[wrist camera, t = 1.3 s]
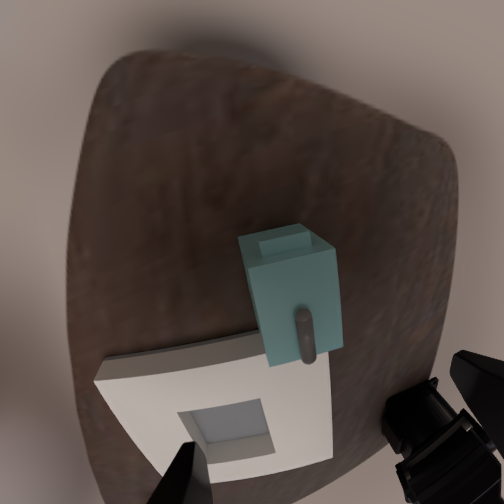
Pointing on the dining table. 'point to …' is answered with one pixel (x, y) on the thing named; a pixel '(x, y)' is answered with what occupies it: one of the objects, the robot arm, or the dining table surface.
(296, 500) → the dining table surface
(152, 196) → the dining table surface
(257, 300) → the servo
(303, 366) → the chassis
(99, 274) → the dining table surface
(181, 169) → the dining table surface
